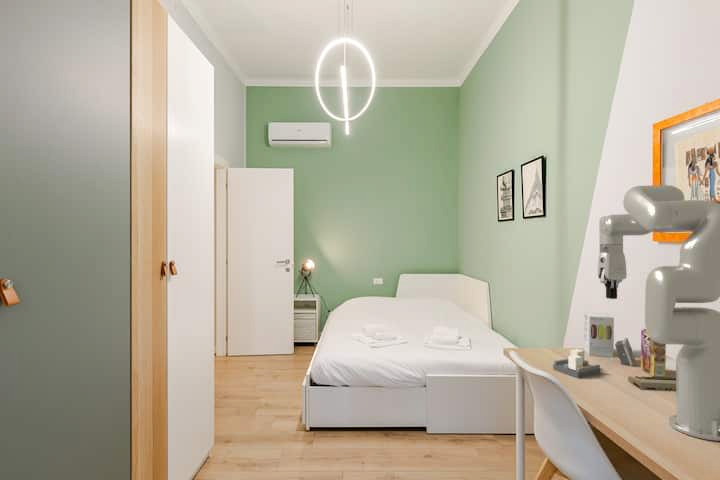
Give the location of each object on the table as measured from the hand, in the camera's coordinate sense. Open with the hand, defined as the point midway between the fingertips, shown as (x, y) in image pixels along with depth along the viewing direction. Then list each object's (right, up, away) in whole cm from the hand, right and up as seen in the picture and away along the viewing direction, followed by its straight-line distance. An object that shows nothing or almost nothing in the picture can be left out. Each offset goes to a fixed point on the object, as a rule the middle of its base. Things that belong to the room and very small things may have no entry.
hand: (611, 298), depth 151 cm
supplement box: (+8, -27, +22) cm, 36 cm away
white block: (-16, -25, -4) cm, 30 cm away
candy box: (+14, -27, -3) cm, 31 cm away
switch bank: (-13, -27, 0) cm, 30 cm away
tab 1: (-11, -25, +4) cm, 27 cm away
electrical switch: (+12, -27, +9) cm, 31 cm away
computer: (+6, -28, -16) cm, 33 cm away
